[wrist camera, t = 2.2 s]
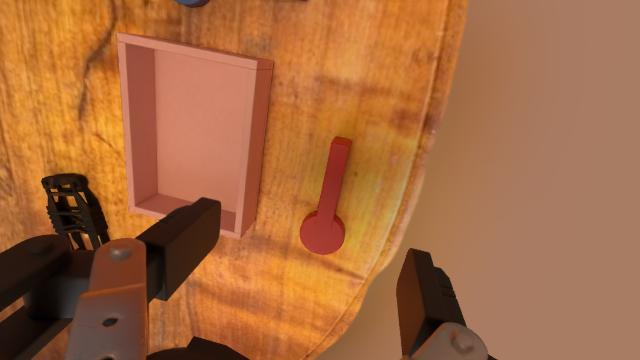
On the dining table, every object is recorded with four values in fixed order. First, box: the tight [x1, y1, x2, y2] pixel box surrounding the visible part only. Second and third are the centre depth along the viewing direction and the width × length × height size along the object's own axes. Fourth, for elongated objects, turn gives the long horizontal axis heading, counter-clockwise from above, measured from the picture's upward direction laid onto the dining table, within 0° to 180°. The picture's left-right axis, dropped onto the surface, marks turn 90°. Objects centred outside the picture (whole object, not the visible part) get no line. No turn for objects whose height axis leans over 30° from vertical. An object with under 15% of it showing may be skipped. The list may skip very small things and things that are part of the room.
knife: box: [41, 174, 109, 250], centre depth 34 cm, size 25×6×1 cm, turn 179°
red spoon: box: [300, 137, 351, 255], centre depth 25 cm, size 11×4×2 cm, turn 170°
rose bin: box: [117, 32, 273, 240], centre depth 25 cm, size 14×10×4 cm
